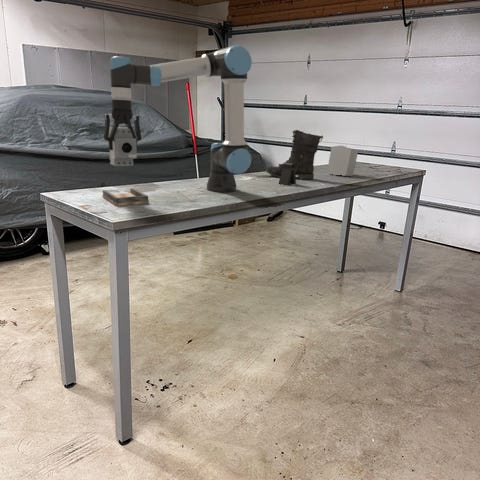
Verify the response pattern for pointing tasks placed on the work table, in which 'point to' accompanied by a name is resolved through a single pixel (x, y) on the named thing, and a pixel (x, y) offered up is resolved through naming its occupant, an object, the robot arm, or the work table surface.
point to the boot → (300, 155)
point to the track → (126, 198)
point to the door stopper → (287, 174)
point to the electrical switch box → (342, 161)
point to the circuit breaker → (123, 147)
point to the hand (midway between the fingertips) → (123, 157)
